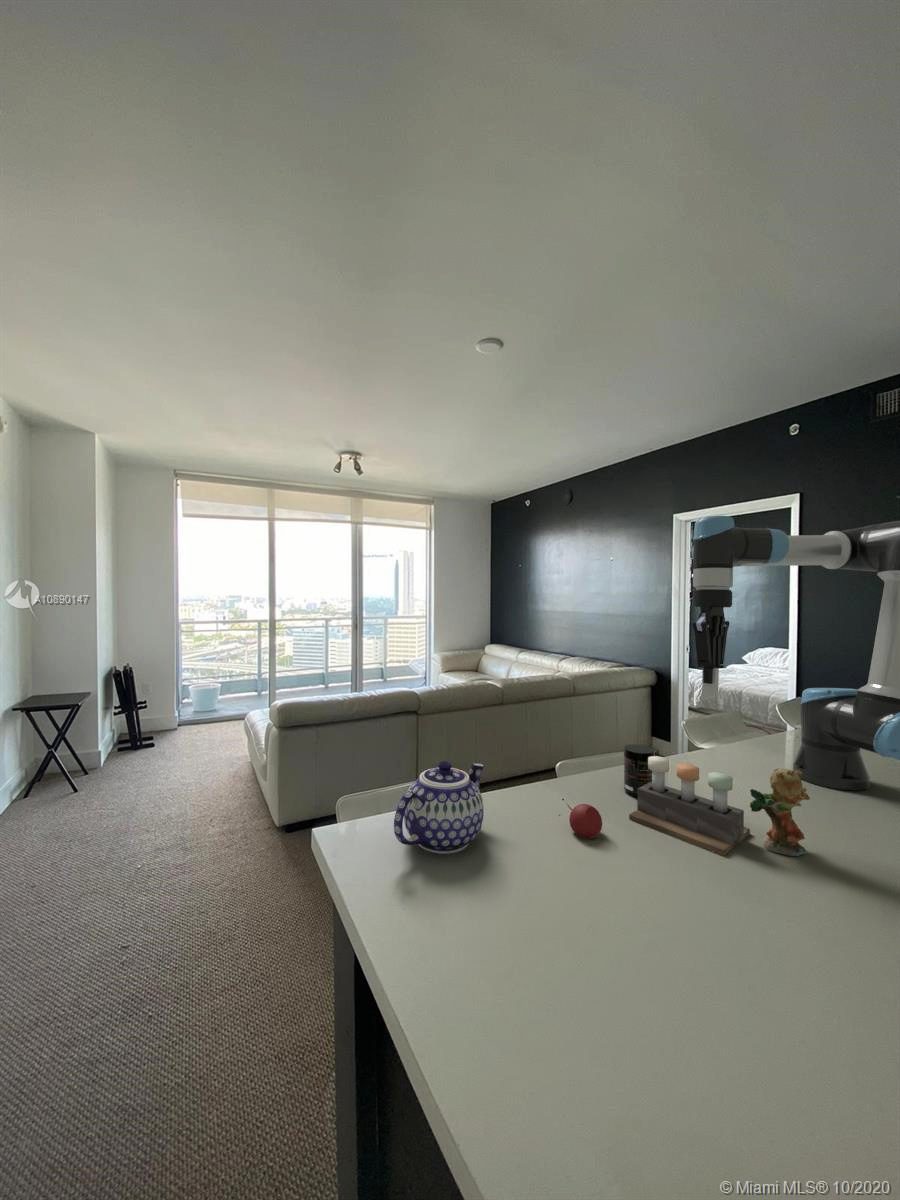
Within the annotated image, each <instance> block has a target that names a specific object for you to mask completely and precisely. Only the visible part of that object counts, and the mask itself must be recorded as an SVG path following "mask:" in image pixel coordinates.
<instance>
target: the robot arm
mask: <svg viewBox="0 0 900 1200" xmlns="http://www.w3.org/2000/svg"><path fill="white" fill-rule="evenodd" d="M734 520H735V519H734V518H733V517H732V516H728V515H710V516H704V517H700V518H698V519H697V520H696V521H695V523H694V528H693V538H692V541H693V546H692V548H691V559H692V562H693V563H692V564H693V565H692V566H693V570H692V571H693V573H692V574H691V578H692V587H694V588H695V589H694V590H693V591H692V601H691V602H692V603H691V605H692V606H693V607H695V608H699V612H698V618H697V619H698V620H693V621H692V628H693V632H694V641H695V642H694V643H695V651H696V662H697V663H696V664H697V668H702V673H701V674H702V678H701V681H702V682H701V698H702V699H709V700H713V701H714V700H718V699H719V684H720V683H719V679H720V678H719V675H720V673H719V672H720V671H719V669H724V667H725V665H724V663H725V654H726V647H727V646H726V645H727V638H728V631H729V628H730V621H728V620H726V617H725V610H724V608H731V607H733V591H732V590H731V589H730V588H733V587H734V567H778V566H779V567H782V566H783V567H785V566H786V567H787V566H788V567H789V566H790V567H791V566H795V567H797V566H822V567H823V568H825V569H828V570H851V571H862V572H877V574H876V575H877V576H878V577H879V578H880V579H881V580H882V581H883V582H884V585H883V591H882V596H881V597H882V598H881V602H880V610H879V614H878V615H879V616H878V621H877V628H876V632H875V633H876V634H875V638H874V645H873V651H872V656H871V662H870V667H869V668H870V669H869V673H868V679H867V683H866V685H864V686H861V687H860V688H856V689H855V688H847V687H845V688H844V687H843V688H842V687H841V688H840V687H810V688H809V687H808V688H806V689H804V690H803V691H802V693H801V701H800V727H801V728H800V729H801V730H800V731H801V732H800V733H801V734H800V737H801V741H800V742H801V744H800V746H799V749H798V751H797V754H796V756H795V759H794V761H793V763H792V771H797V770H800V771H801V772H802V774H801V776H800V778H801V780H803V781H806V782H808V783H811V784H814V785H816V786H817V785H818V786H821V787H825V788H829V789H830V788H831V789H836V790H843V791H865V790H868V789H870V787H871V785H870V783H871V779H870V775H869V772H868V770H867V767H866V765H865V763H864V759H863V756H862V755H861V750H865V751H868V752H872V753H875V754H876V755H877V754H878V755H879V756H881V757H884V758H887V759H888V758H890V759H893V760H898V761H900V520H895V521H889V522H882V523H877V524H871V525H866V526H862V527H856V528H851V529H845V530H830V531H828V532H826V533H824V534H821V535H820V534H818V535H817V534H814V535H811V534H810V535H809V534H808V535H807V534H806V535H805V534H803V535H800V534H799V535H787V533H786V532H785V531H783V530H781V529H775V528H769V527H766V528H757V527H755V528H753V527H752V528H751V527H737V526H736V527H735V521H734Z"/></svg>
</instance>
